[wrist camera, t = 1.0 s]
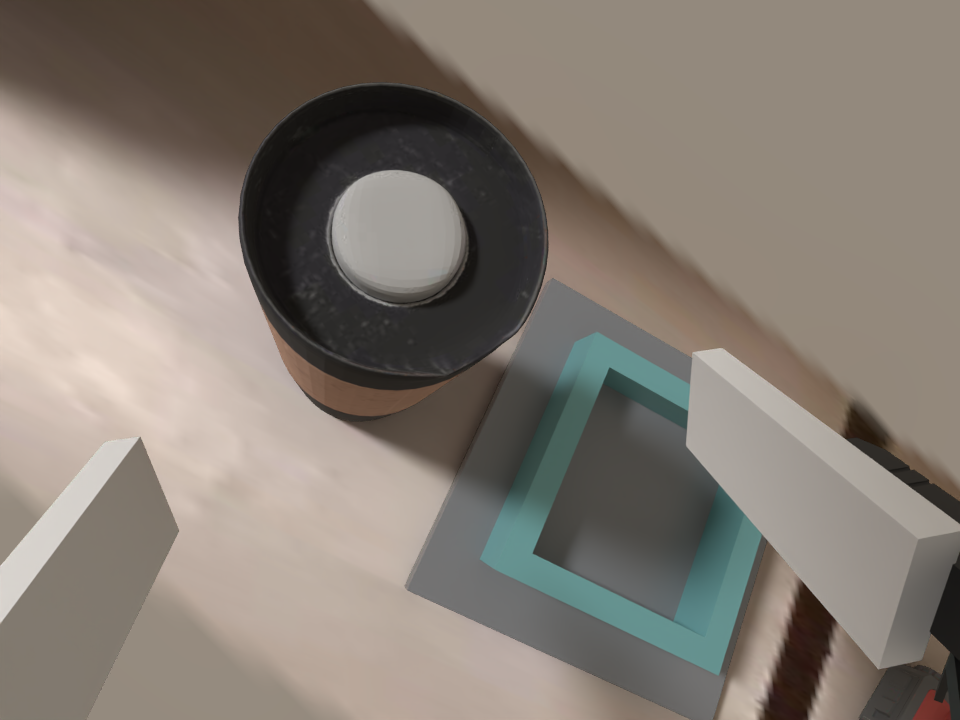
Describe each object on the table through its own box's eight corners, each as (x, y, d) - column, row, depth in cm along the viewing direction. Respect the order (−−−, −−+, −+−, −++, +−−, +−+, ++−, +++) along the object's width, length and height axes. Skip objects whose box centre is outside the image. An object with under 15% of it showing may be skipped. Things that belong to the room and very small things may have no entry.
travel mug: (310, 279, 33) (285, 29, 13) (438, 314, 34) (578, 136, 15) (272, 409, 31) (183, 333, 12) (408, 440, 32) (524, 417, 13)
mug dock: (404, 586, 31) (415, 603, 27) (546, 282, 36) (572, 262, 33) (699, 720, 34) (746, 753, 30) (791, 423, 39) (841, 419, 36)
